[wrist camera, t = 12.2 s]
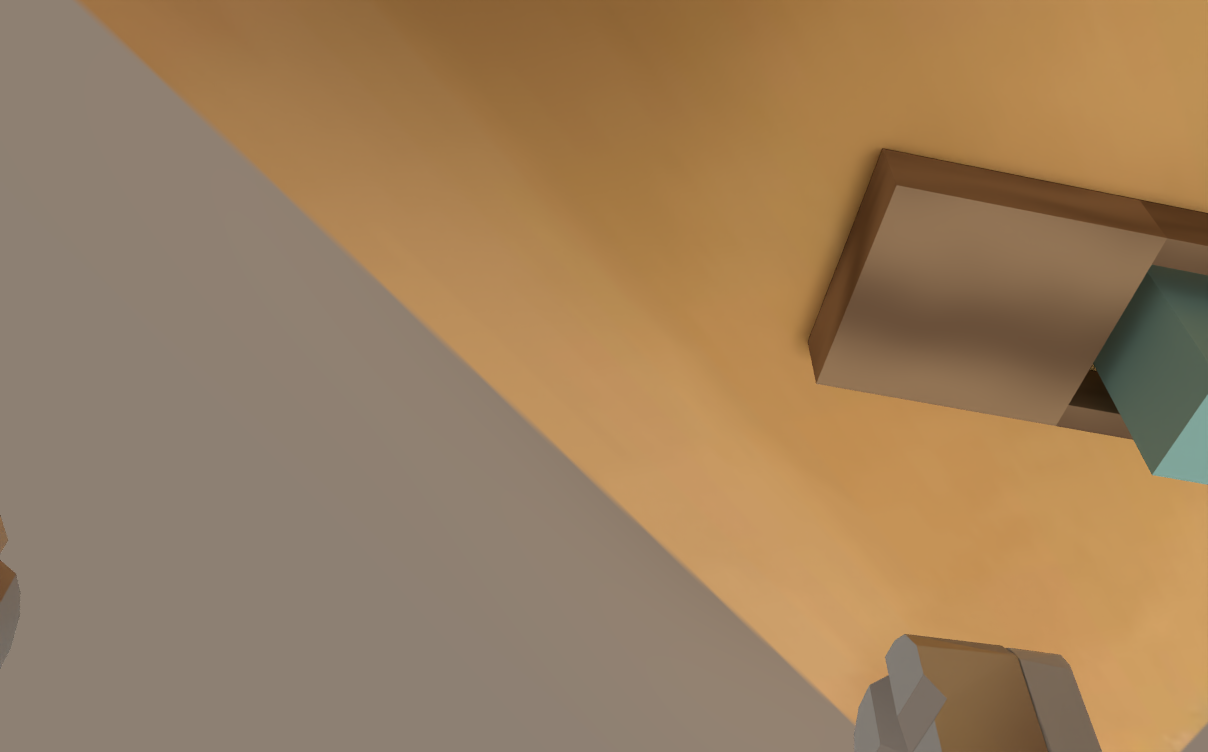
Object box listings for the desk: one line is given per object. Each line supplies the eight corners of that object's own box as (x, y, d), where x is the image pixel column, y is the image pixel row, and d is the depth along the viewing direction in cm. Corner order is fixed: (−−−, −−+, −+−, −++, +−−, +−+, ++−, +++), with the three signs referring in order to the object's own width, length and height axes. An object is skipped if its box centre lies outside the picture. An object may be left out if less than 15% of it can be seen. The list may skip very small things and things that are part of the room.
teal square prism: (1135, 254, 38) (1218, 378, 33) (1242, 275, 39) (1341, 400, 33) (1083, 345, 41) (1152, 475, 35) (1184, 363, 41) (1267, 494, 36)
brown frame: (882, 148, 36) (896, 184, 34) (1383, 248, 38) (1424, 288, 36) (807, 342, 41) (816, 383, 39) (1255, 422, 43) (1285, 466, 41)
